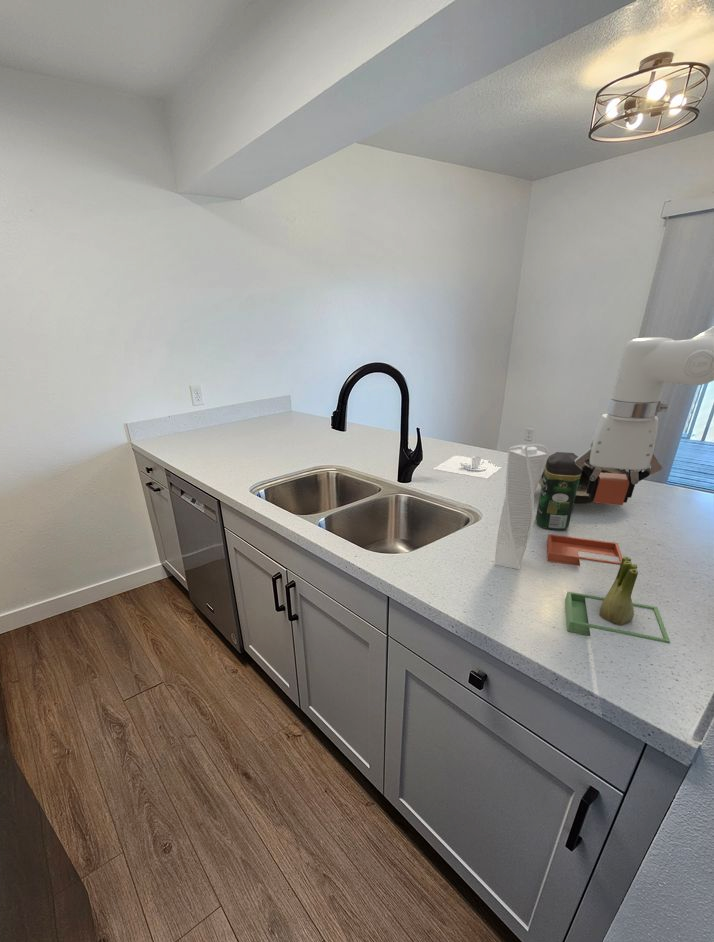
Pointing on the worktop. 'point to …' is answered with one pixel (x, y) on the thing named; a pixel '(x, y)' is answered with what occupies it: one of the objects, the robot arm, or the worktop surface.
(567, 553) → the terracotta tray
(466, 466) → the teacup and saucer
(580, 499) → the stone bowl
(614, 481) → the terracotta block
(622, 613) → the fennel bulb
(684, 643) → the worktop surface
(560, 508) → the coffee jar
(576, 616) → the green rectangular frame
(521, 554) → the skyscraper
